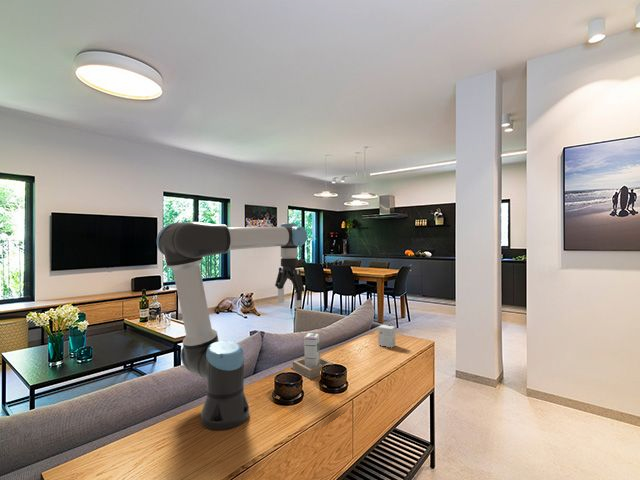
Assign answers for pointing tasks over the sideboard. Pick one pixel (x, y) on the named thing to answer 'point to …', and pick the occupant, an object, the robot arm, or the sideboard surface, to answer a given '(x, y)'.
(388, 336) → the small box
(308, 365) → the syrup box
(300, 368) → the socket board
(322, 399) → the sideboard surface
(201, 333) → the robot arm
